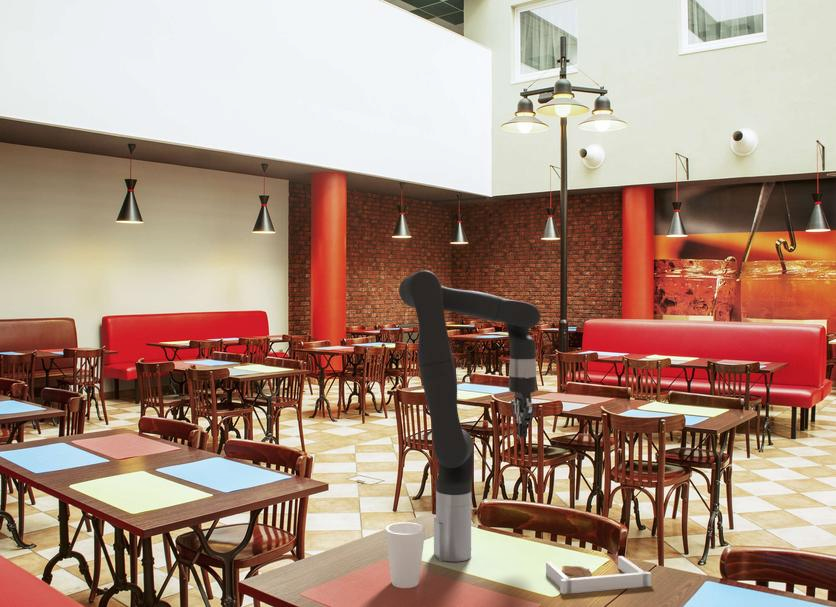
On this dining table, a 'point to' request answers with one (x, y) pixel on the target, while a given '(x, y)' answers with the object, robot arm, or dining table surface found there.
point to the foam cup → (405, 552)
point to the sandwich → (576, 571)
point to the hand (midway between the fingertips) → (522, 436)
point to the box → (601, 579)
